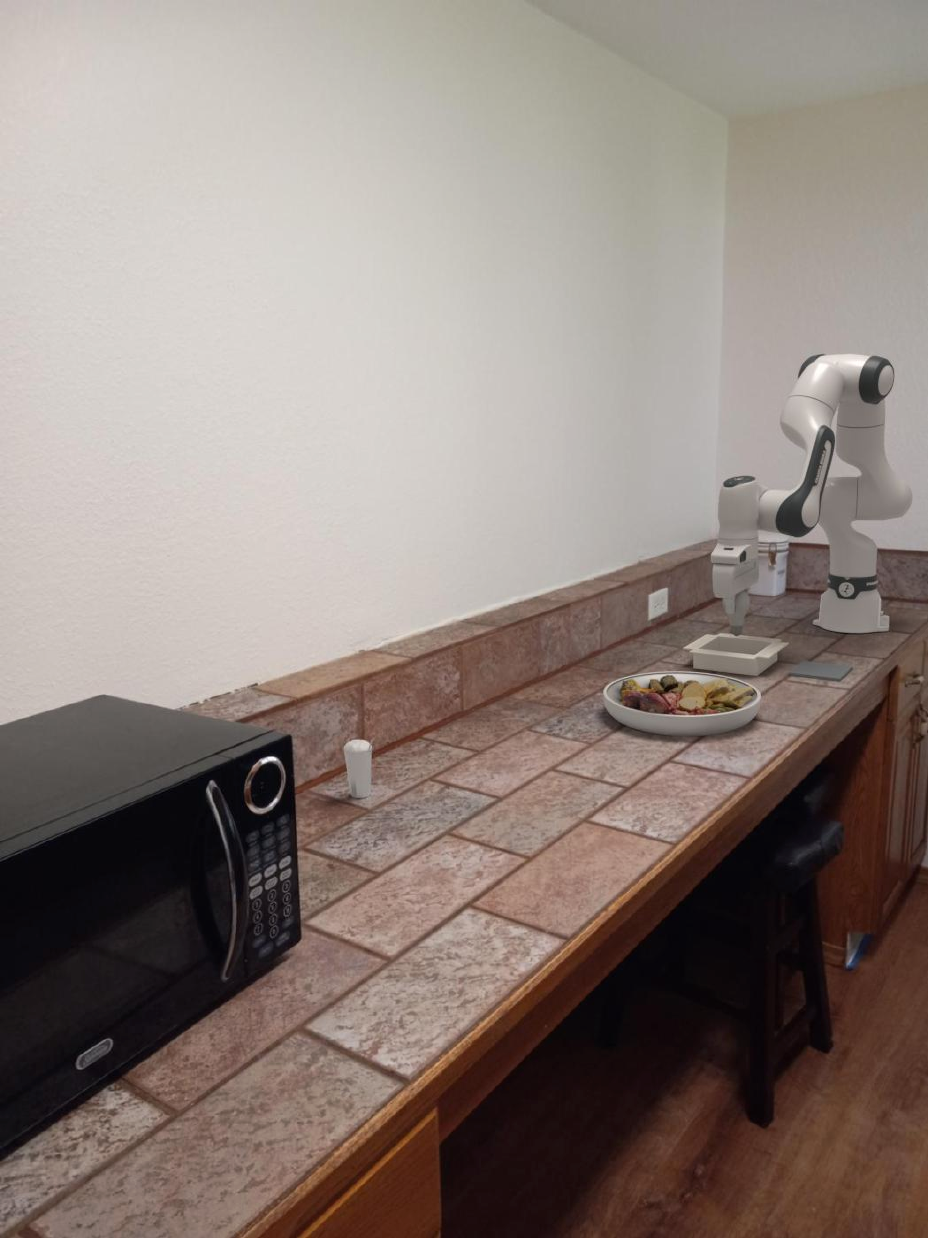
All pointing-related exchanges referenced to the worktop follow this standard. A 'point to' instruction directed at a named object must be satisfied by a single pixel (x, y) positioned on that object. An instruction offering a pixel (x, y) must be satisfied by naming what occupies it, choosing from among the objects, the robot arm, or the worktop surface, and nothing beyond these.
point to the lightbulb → (738, 612)
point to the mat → (820, 670)
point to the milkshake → (359, 767)
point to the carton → (735, 653)
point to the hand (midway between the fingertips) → (736, 609)
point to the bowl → (682, 703)
